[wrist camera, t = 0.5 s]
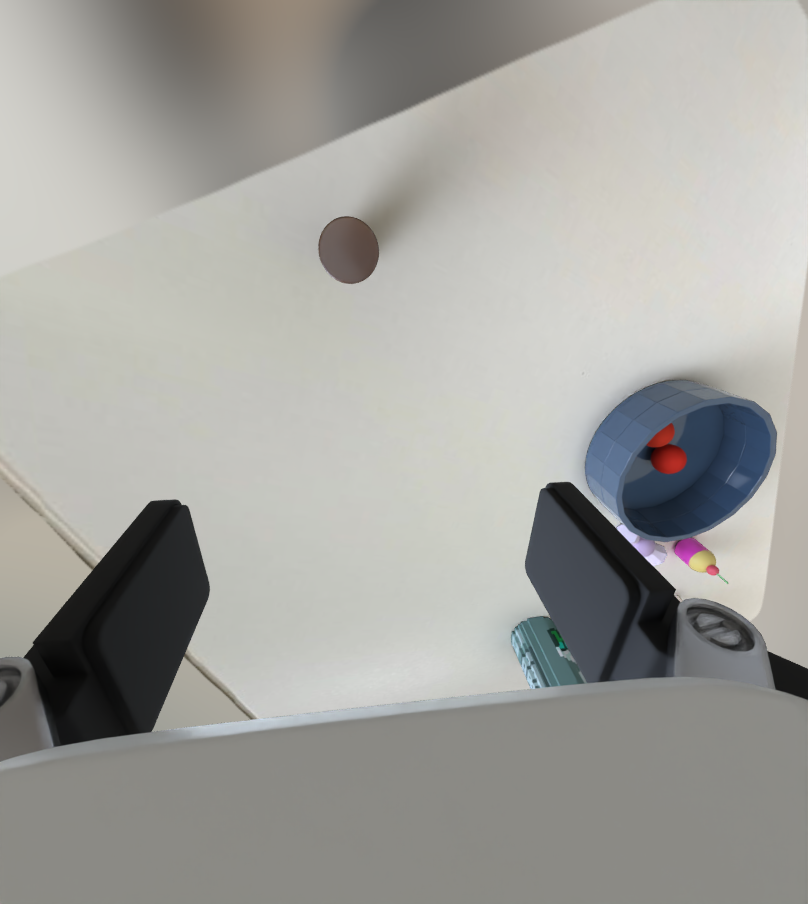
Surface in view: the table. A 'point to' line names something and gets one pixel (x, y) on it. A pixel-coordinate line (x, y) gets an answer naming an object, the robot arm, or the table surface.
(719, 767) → the robot arm
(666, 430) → the tomato
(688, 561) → the candy
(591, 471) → the bowl
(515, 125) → the table surface
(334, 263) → the stick
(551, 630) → the can
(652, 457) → the tomato
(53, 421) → the table surface
